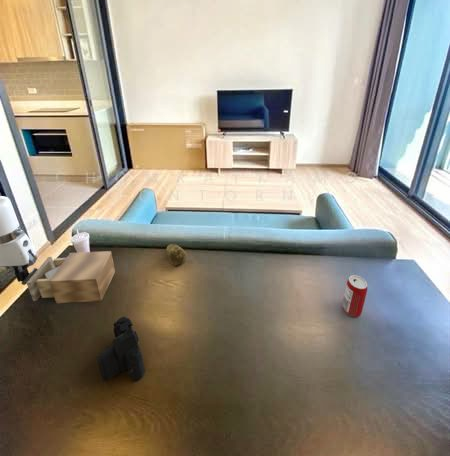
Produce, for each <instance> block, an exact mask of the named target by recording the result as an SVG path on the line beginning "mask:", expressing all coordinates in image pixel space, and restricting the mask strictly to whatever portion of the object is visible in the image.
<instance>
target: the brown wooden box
mask: <svg viewBox="0 0 450 456" xmlns="http://www.w3.org/2000/svg"><path fill="white" fill-rule="evenodd" d="M65 258H66V259H65V260H64V262H63V263H62V264H61V266H60V267H59V268H58V270H57V271H56V272H55V274H54V275H53V276H52V278H51V279H50V280H49V283H50V286H51V289H52V292H53V295H54V297H53V298H54V301H55V303H56V304H69V303H88V302H89V303H91V302H102V301H103V299H104V297H105V294H106V292H107V290H108V288H109V286H110V284H111V282H112V279H113V277H114V275H115V273H116V269H115V264H114V259H113V254H112V250H105V251H90V252H79V253H77V252H69V254H68V255H67V256H66V257H65Z"/></svg>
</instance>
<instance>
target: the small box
mask: <svg viewBox="0 0 450 456" xmlns="http://www.w3.org/2000/svg"><path fill="white" fill-rule="evenodd" d="M60 266H61V265H60ZM60 266H58V267H55V268H54V269H52V270H50V271H48V272H47V273H45V276H46V279H51V278H52V276H53V275H54V274H55V272H56V271H57V270H58V268H59V267H60Z"/></svg>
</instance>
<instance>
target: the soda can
mask: <svg viewBox="0 0 450 456" xmlns="http://www.w3.org/2000/svg"><path fill="white" fill-rule="evenodd" d="M367 293H368V282H367V280H366V279H364V278H363V277H362V276H359V275H356V274H352V275H350V276H349V277H348V279H347V281H346V284H345V289H344V293H343V298H342V304H341V306H342V307H341V308H342V309H343V311H344V312H345V314H346V315H349V317H354V318H358V317H361V315H362V313H363V309H364V305H365V301H366V298H367Z"/></svg>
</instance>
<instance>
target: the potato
mask: <svg viewBox="0 0 450 456" xmlns="http://www.w3.org/2000/svg"><path fill="white" fill-rule="evenodd" d="M165 252H166V253H165V254H166V257H167V260H168V261H169V262H170V263H171V265H173V267H174V268H178V267H182V266H183V265H185V263H186V261H187V260H188V254H187V252H186V250H184V249H183V248H182V247H180V246H179V245H177V244H175V243H171V244H168V245H167V247H166V248H165Z"/></svg>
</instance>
